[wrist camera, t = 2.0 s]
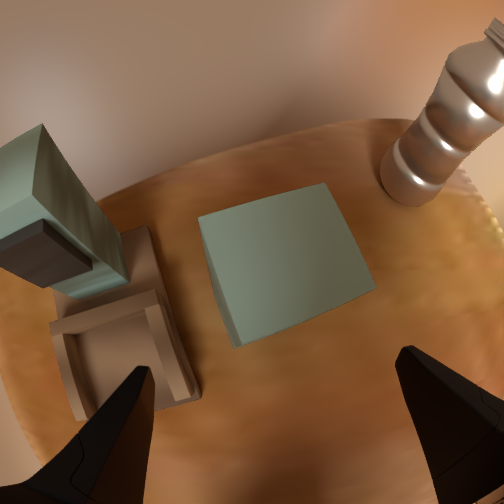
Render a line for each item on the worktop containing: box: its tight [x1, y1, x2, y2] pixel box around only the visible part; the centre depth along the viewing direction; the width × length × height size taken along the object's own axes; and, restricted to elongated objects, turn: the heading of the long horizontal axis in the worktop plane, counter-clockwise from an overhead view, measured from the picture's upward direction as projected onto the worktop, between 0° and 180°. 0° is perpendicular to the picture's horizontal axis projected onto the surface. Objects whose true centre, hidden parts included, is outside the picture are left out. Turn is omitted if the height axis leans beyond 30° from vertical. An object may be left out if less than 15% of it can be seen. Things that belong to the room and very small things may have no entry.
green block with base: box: [0, 124, 202, 422], centre depth 12 cm, size 13×9×13 cm
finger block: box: [198, 182, 377, 349], centre depth 14 cm, size 5×4×12 cm
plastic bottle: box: [380, 18, 504, 207], centre depth 16 cm, size 6×7×20 cm
